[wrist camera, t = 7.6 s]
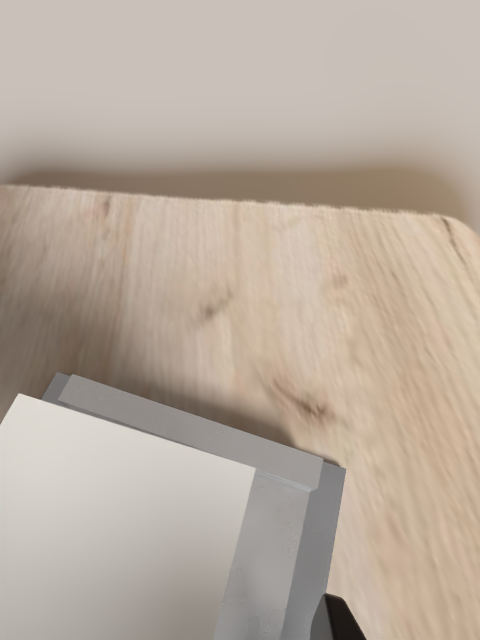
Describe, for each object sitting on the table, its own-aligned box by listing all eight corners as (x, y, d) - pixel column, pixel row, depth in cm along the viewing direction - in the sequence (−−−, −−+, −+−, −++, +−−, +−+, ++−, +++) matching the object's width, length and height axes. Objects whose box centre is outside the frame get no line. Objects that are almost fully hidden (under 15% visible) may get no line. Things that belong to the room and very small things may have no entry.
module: (182, 657, 13) (148, 896, 5) (57, 614, 14) (-199, 761, 5) (225, 503, 16) (255, 468, 7) (117, 468, 16) (18, 393, 7)
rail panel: (268, 914, 12) (282, 990, 10) (-150, 737, 13) (-214, 775, 11) (343, 470, 18) (360, 462, 16) (59, 374, 19) (43, 356, 17)
